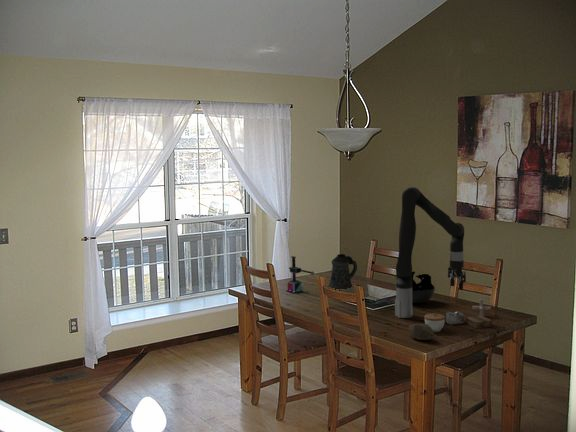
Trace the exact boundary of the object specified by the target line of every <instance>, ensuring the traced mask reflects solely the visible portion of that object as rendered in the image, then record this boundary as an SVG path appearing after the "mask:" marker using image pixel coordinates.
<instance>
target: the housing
mask: <svg viewBox="0 0 576 432" xmlns="http://www.w3.org/2000/svg"><path fill="white" fill-rule="evenodd" d="M464 318H465V314H464V313H462V312H461V311H458V310H457V311H454V312H451V311H447V312H446V314H445V319H446V322H445V323H447V324H449V325H455V324H456V325H457V324H458V325H459V324H465V323H464V322H465V319H464Z"/></svg>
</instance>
